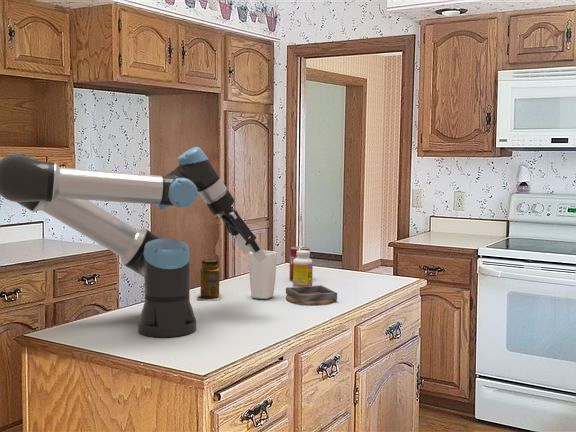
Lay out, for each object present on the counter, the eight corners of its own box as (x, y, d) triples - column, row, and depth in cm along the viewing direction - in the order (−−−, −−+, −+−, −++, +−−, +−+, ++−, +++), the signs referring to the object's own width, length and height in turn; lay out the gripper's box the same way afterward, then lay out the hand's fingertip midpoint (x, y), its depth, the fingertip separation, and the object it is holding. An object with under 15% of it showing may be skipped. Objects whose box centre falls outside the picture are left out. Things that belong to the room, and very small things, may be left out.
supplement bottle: (309, 290, 230) (310, 253, 229) (290, 289, 232) (291, 252, 230) (314, 286, 236) (314, 250, 235) (295, 285, 238) (296, 249, 237)
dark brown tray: (297, 307, 206) (297, 297, 206) (278, 295, 221) (279, 286, 221) (344, 303, 212) (344, 293, 212) (323, 292, 227) (324, 283, 227)
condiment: (221, 294, 222) (221, 258, 221) (219, 300, 214) (219, 263, 213) (199, 294, 222) (199, 258, 221) (196, 300, 214) (196, 262, 213)
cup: (257, 294, 223) (258, 249, 222) (277, 296, 220) (278, 251, 218) (246, 298, 217) (247, 252, 215) (267, 301, 213) (267, 254, 212)
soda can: (309, 282, 244) (310, 249, 243) (289, 282, 244) (289, 249, 243) (309, 278, 251) (309, 246, 250) (289, 278, 251) (289, 246, 250)
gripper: (239, 193, 184) (279, 255, 190) (216, 186, 207) (252, 241, 213) (217, 209, 182) (258, 271, 189) (196, 200, 205) (233, 255, 212)
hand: (255, 255), depth 201 cm, fingers open, 13 cm apart
